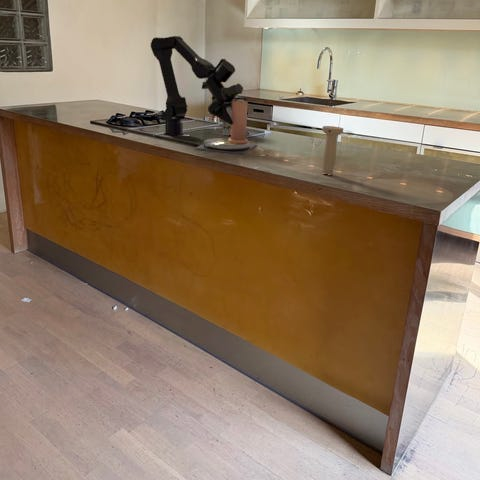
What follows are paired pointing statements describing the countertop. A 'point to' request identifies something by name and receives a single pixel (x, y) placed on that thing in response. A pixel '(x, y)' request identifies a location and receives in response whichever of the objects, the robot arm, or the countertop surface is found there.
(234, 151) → the base
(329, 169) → the handle
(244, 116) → the pink tall cylinder
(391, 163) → the countertop surface
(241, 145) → the turntable disk
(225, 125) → the coffee box
